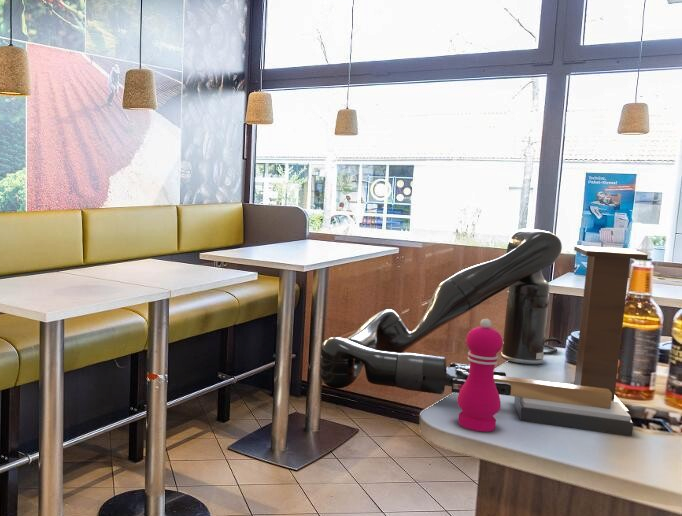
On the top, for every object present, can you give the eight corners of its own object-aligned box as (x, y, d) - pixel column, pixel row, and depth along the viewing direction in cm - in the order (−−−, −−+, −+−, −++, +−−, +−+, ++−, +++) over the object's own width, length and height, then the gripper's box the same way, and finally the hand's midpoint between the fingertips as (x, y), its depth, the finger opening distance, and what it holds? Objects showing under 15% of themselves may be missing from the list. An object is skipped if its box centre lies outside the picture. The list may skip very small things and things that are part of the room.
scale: (514, 404, 141) (515, 387, 140) (617, 418, 135) (619, 401, 134) (520, 420, 132) (522, 402, 131) (632, 436, 125) (634, 417, 125)
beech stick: (479, 387, 140) (480, 373, 139) (606, 404, 132) (608, 388, 132) (480, 392, 137) (481, 377, 137) (610, 409, 129) (612, 393, 129)
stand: (558, 393, 149) (574, 245, 146) (613, 400, 146) (630, 248, 142) (569, 410, 138) (586, 250, 135) (628, 418, 135) (647, 254, 131)
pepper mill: (461, 415, 133) (471, 313, 131) (502, 425, 128) (513, 319, 126) (450, 425, 127) (459, 318, 125) (492, 436, 123) (503, 325, 121)
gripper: (418, 381, 149) (502, 392, 143) (418, 400, 136) (510, 413, 130) (421, 347, 148) (506, 356, 143) (421, 363, 135) (514, 374, 129)
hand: (508, 383), depth 136 cm, fingers open, 8 cm apart
